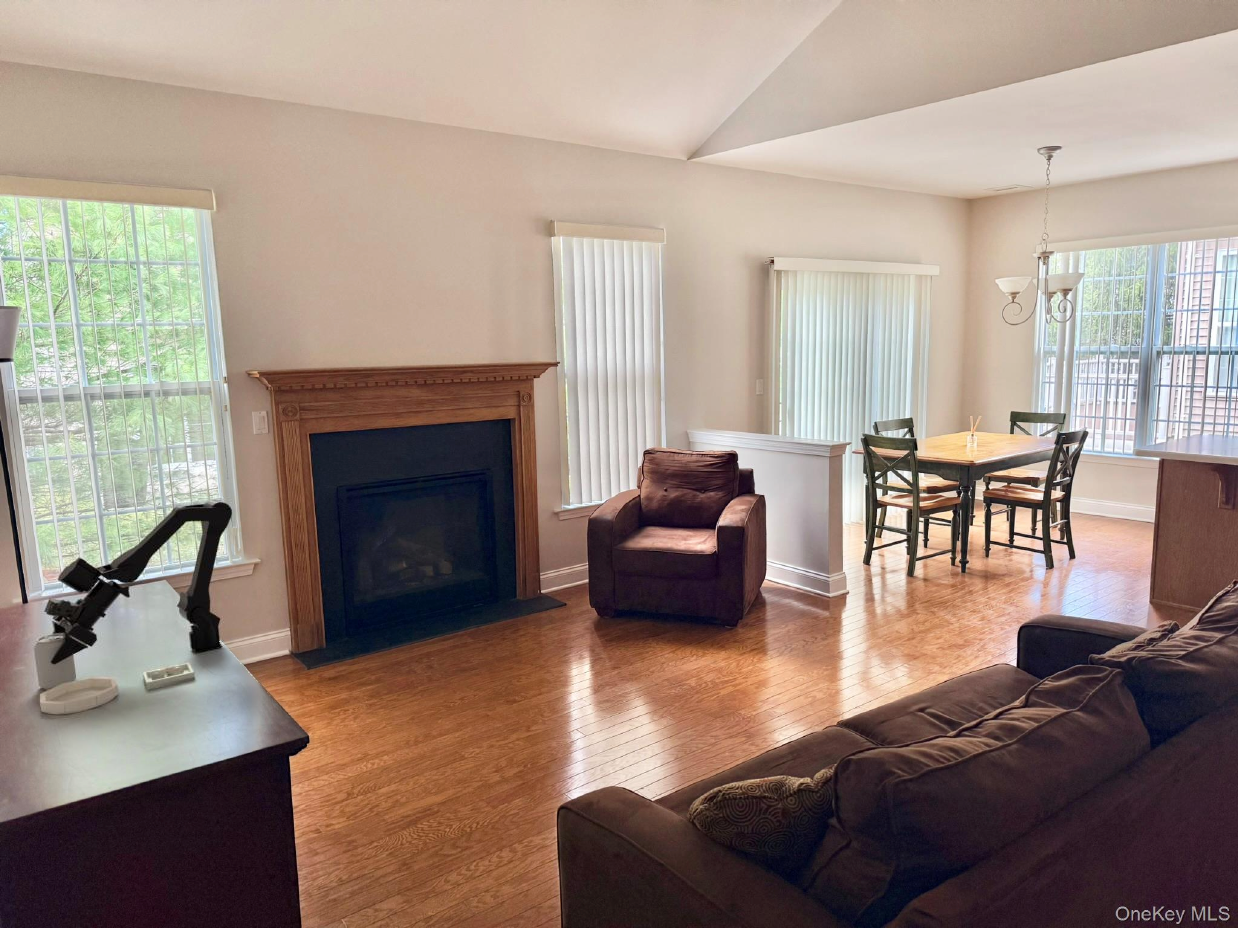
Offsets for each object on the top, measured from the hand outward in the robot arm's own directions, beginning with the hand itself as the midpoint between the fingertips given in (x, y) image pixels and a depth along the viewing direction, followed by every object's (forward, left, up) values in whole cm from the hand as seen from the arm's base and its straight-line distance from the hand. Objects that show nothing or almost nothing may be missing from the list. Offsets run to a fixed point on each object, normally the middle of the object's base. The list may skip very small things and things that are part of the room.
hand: (48, 658), depth 198 cm
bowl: (-5, +15, -7) cm, 17 cm away
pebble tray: (-23, +14, -7) cm, 28 cm away
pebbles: (-23, +14, -7) cm, 28 cm away
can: (-1, 0, -7) cm, 7 cm away
